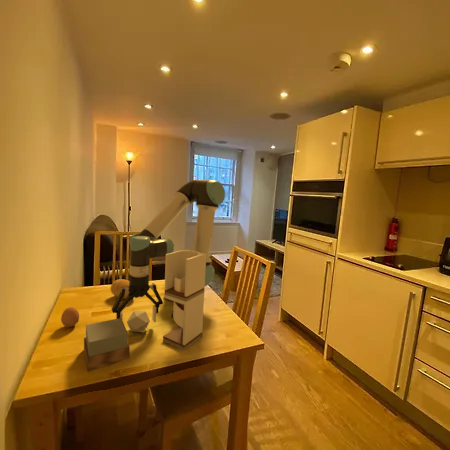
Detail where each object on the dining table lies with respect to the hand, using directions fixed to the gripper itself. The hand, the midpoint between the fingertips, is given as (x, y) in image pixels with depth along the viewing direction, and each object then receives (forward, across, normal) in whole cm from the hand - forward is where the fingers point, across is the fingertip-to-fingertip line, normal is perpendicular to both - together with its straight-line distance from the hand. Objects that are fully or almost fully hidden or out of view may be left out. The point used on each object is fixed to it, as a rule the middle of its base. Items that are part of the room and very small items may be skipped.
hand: (137, 323), depth 109 cm
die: (+3, 0, 0) cm, 3 cm away
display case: (+3, +14, -14) cm, 20 cm away
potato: (+3, +1, +35) cm, 35 cm away
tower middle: (-1, -14, -11) cm, 17 cm away
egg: (+3, -24, +15) cm, 28 cm away
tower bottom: (+4, -14, -11) cm, 18 cm away
